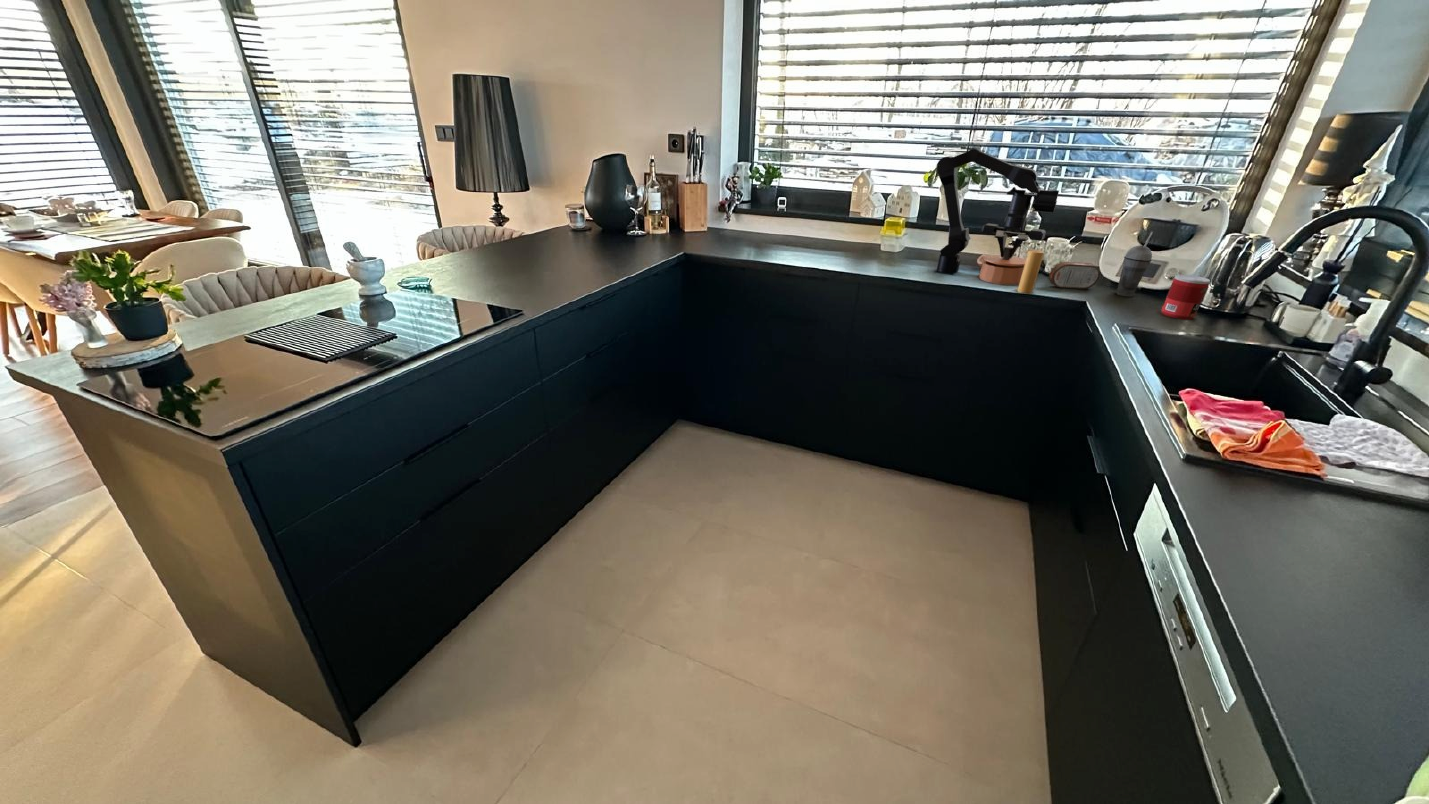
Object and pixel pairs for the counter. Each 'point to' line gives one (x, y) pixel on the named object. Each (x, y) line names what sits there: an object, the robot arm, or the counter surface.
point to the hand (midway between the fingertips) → (1006, 257)
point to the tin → (1074, 275)
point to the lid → (1005, 259)
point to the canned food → (1185, 296)
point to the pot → (1001, 273)
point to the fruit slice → (980, 260)
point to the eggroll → (1030, 271)
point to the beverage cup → (1134, 269)
